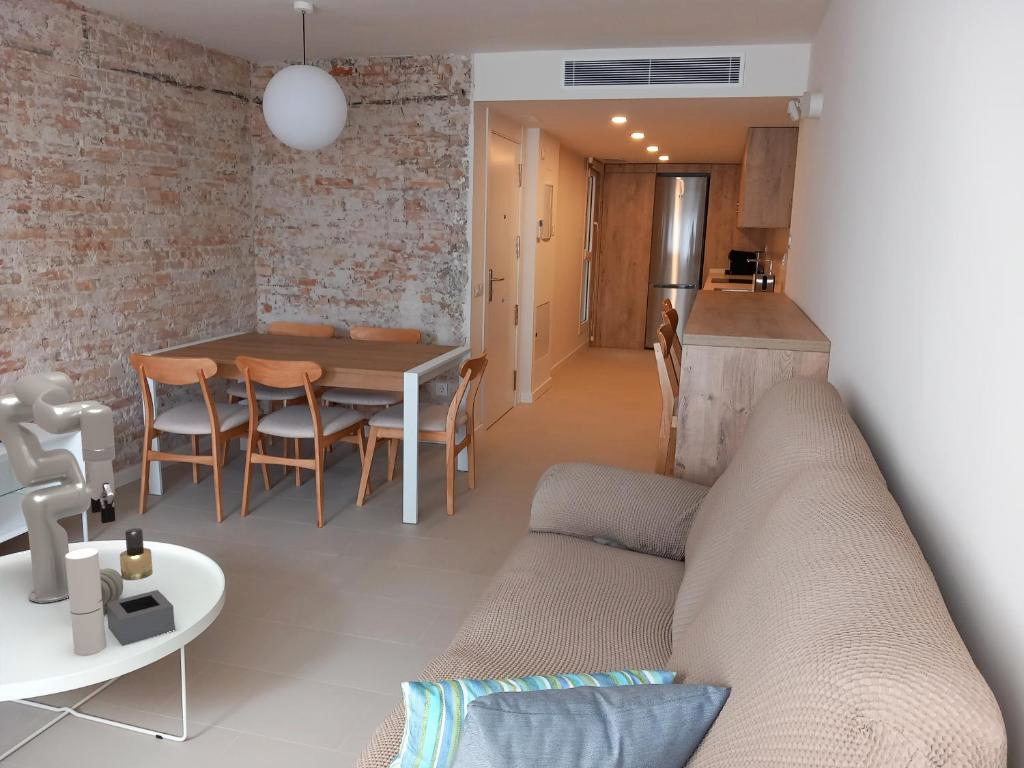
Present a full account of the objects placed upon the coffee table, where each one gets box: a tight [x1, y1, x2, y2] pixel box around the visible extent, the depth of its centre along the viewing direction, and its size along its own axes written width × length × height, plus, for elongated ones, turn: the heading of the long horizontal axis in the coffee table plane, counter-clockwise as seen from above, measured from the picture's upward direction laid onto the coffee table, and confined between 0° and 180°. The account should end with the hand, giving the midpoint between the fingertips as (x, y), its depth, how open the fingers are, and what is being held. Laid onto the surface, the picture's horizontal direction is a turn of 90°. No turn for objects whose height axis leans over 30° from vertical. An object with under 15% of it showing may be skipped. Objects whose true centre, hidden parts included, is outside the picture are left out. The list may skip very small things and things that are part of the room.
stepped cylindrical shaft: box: [119, 527, 154, 581], centre depth 213 cm, size 7×7×12 cm
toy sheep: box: [100, 567, 124, 616], centre depth 228 cm, size 11×17×11 cm, turn 4°
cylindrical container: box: [65, 547, 107, 656], centre depth 204 cm, size 7×7×25 cm
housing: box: [106, 589, 176, 647], centre depth 216 cm, size 13×13×7 cm
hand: (103, 516), depth 215 cm, fingers open, 9 cm apart
